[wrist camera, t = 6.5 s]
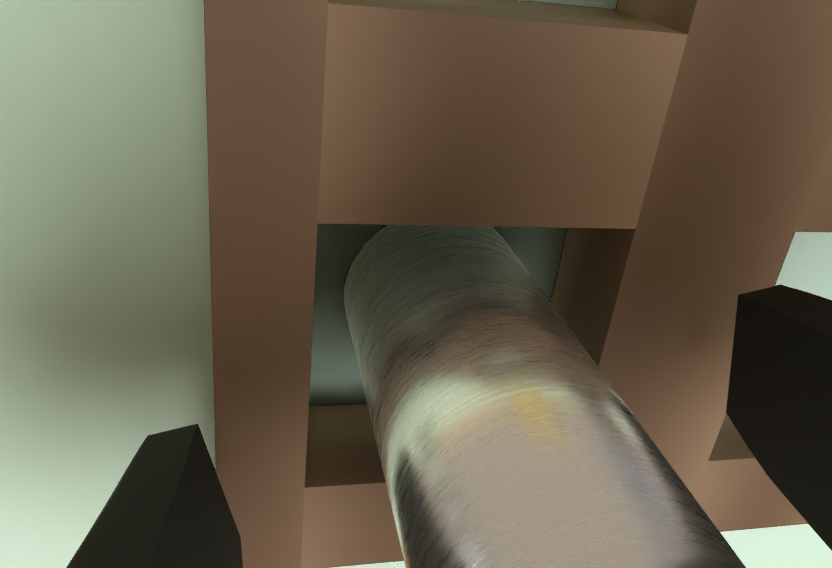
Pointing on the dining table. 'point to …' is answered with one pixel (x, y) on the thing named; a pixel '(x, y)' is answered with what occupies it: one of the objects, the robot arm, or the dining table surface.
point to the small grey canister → (505, 419)
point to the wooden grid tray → (504, 215)
